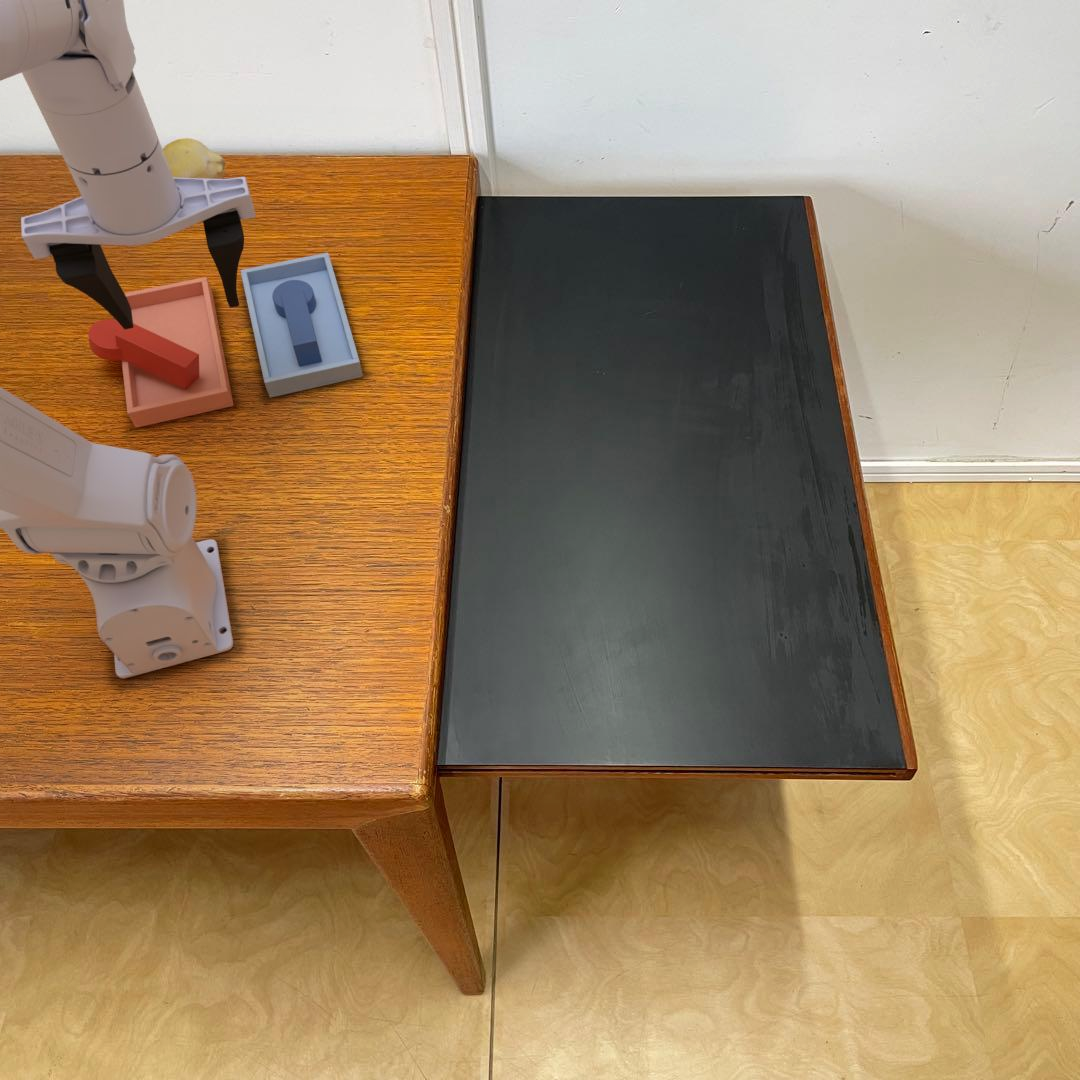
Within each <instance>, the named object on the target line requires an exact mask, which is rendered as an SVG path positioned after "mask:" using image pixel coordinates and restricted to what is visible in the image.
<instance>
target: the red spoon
mask: <svg viewBox="0 0 1080 1080" xmlns="http://www.w3.org/2000/svg"><path fill="white" fill-rule="evenodd" d="M133 327H134V328H130V329H123V327H122V326H121V325H120V324H119V323H118V321H117V320H116V319H115V318H103V319H101V320H98V321H96V322H94V323H93V324H91V325H90V327H89V329H88V333H87V335H88V341H89V342H88V343H89V348H90V350H91V352H92V354H94V355H95V356H97V357H98V358H100V359H103V360H106V361H112V362H113V361H115V362H116V361H117V362H118V361H122V360H124V361H126V362H128V363H131V364H133V365H135V366H137V367H139V368H141V369H143V370H145V371H147V372H150V373H152V374H154V375H156V376H158V377H160V378H162V379H164V380H167V381H169V382H171V383H173V384H175V385H177V386H179V387H181V388H184V389H188V388H189V387H190V385H191V384H192V383H193V382H194V381H195V380H196V379H197V378H198V377H199V354H197V353H195V352H193V351H191V350H189V349H187V348H185V347H183V346H180V345H178V344H176V343H174V342H172V341H170V340H168V339H166V338H163V337H161V336H159V335H157V334H155V333H153V332H151V331H149V330H146V329H144V328H142V327H140V326H138V325H136V324H134V323H133Z"/></svg>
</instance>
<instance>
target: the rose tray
mask: <svg viewBox="0 0 1080 1080" xmlns="http://www.w3.org/2000/svg"><path fill="white" fill-rule="evenodd" d="M124 294H125V295H126V298H127V300H128V302H129V305H130V307H131V311H132V319H133V323H134V324H136V325H138V326H140V327H142V328H144V329H146V330H149V331H151V332H153V333H155V334H157V335H159V336H161V337H163V338H166V339H168V340H170V341H172V342H174V343H176V344H178V345H180V346H183V347H185V348H187V349H189V350H191V351H193V352H195V353H197V354H199V377H198V378H197V379H196V380H195V381H194V382H193V383H192V384H191V385H190V387H189V388H188V389H184V388H181V387H179V386H177V385H175V384H173V383H171V382H169V381H167V380H164V379H162V378H160V377H158V376H156V375H154V374H152V373H150V372H147V371H145V370H143V369H141V368H139V367H137V366H135V365H133V364H131V363H128V362H126V361H124V360H121V368H122V376H123V387H124V396H125V405H126V413H127V416H128V417H129V419H130V421H131V422H132V425H133V426H134V428H136V429H137V428H141V427H146V426H150V425H155V424H160V423H164V422H167V421H168V422H169V421H174V420H177V419H181V418H186V417H191V416H195V415H199V414H204V413H208V412H212V411H217V410H221V409H226V408H230V407H234V405H235V404H234V399H233V395H232V390H231V389H232V388H231V384H230V379H229V378H230V377H229V372H228V369H227V363H226V362H227V361H226V358H225V352H224V346H223V342H222V336H221V331H220V325H219V320H218V315H217V309H216V303H215V298H214V293H213V289H212V288H211V284H210V282H209V280H208V277H207V276H204V277H199V278H194V279H188V280H183V281H179V282H174V283H173V282H172V283H168V284H163V285H157V286H153V287H149V288H143V289H139V290H138V289H137V290H133V291H128V292H124Z"/></svg>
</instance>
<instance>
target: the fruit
mask: <svg viewBox="0 0 1080 1080" xmlns="http://www.w3.org/2000/svg"><path fill="white" fill-rule="evenodd" d="M162 149H163V152H164V155H165V157H166V160H167V163H168V165H169V168H170V171H171V173H172V176H173V177H180V178H206V179H223V178H224V176H225V174H226V169H225V167H226V160H225V158H224V157H222V156H221V155H219V154H218V153H216V152H215V151H212V150H211V149H210V148H209V147H207V145H205V144H204V143H203V142H201V141H199V140H197V139H194V138H188V137H187V138H186V137H185V138H178V139H175V140H173V141H171V142H169V143H167V144H166V145H165V146H164V147H162Z"/></svg>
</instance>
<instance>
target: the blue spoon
mask: <svg viewBox="0 0 1080 1080" xmlns="http://www.w3.org/2000/svg"><path fill="white" fill-rule="evenodd" d="M272 298H273V302H274V305H275V308H276V311H277V313H278V314H279V315H280V316H282V317H283V318H286V320H287V324H288V328H289V332H290V336H291V340H292V344H293V348H294V351H295V355H296V358H297V361H298V364H299V366H305V365H309V364H314V363H319V362H322V358H321V355H320V351H319V347H318V343H317V339H316V335H315V332H314V328H313V324H312V320H311V316H310V314H311V313H312V312H313V311H314V309H315V307H316V300H315V296H314V292H313V289H312V287H311V286H310V285H309V284H308V283H306V282H304V281H301V280H289V281H286V282H283V283H281V284H280V285H278V286H277V287H276V288H275V290H274V291H273V295H272Z"/></svg>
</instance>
